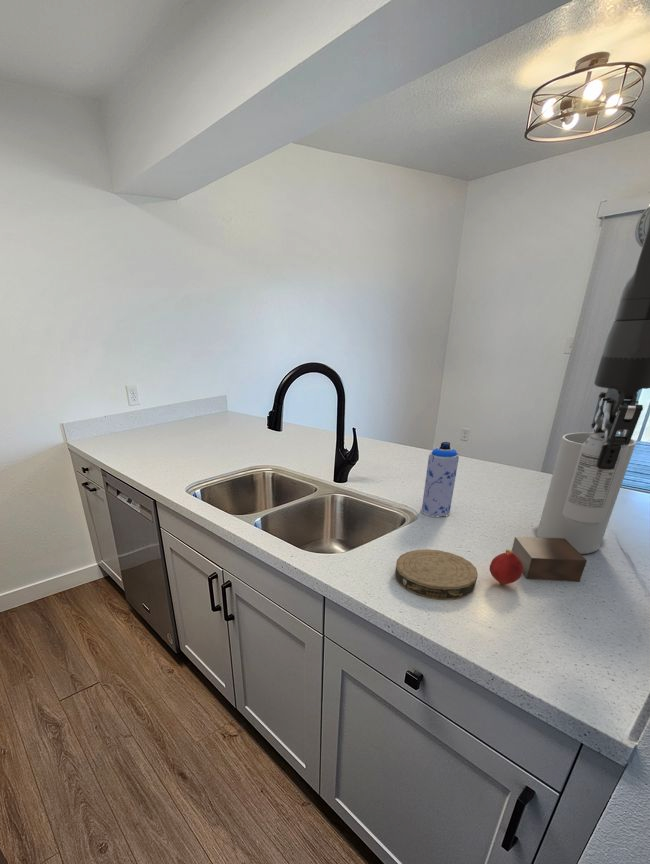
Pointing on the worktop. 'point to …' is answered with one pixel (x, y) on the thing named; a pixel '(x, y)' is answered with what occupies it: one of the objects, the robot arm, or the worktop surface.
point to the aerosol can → (440, 481)
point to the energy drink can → (592, 484)
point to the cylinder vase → (558, 491)
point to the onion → (506, 568)
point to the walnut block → (549, 558)
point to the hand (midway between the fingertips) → (600, 462)
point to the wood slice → (436, 574)
